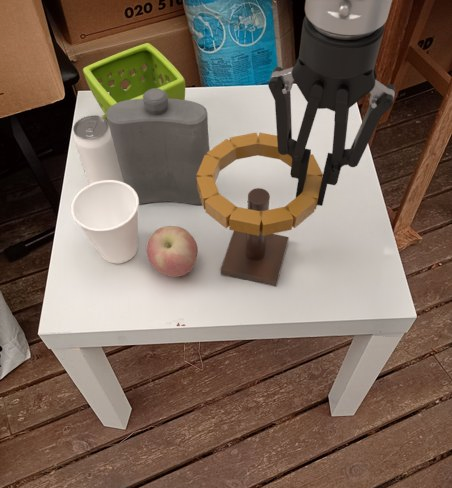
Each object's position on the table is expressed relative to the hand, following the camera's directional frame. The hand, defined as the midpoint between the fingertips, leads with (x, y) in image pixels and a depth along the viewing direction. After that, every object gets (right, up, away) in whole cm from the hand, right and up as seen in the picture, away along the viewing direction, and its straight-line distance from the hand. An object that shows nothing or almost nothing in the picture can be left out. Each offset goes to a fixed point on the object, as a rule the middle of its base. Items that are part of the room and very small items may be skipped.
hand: (310, 195), depth 66 cm
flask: (-21, +5, +23) cm, 32 cm away
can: (-33, +8, +25) cm, 42 cm away
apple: (-19, -9, +14) cm, 26 cm away
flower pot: (-27, +19, +31) cm, 46 cm away
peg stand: (-6, -7, +15) cm, 18 cm away
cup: (-29, -6, +16) cm, 34 cm away
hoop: (-7, +1, +1) cm, 7 cm away
